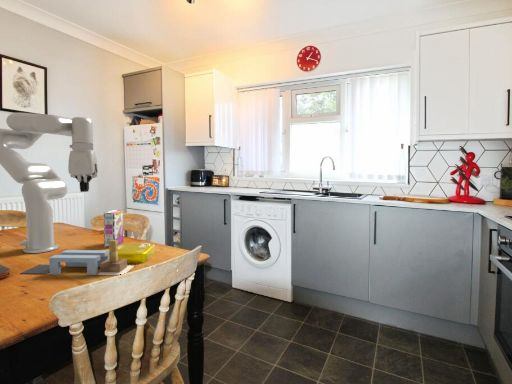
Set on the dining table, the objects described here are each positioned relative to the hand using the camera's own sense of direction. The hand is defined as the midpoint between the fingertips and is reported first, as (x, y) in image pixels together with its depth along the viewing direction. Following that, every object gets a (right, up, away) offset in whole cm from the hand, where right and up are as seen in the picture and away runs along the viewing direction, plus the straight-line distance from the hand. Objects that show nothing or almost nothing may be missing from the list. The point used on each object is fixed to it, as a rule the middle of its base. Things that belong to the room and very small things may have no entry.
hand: (84, 191), depth 121 cm
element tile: (+21, -28, -1) cm, 35 cm away
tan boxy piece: (+21, -29, -17) cm, 39 cm away
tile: (+22, -29, -17) cm, 40 cm away
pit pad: (-5, -29, -17) cm, 33 cm away
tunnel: (+9, -29, -17) cm, 34 cm away
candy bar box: (+4, -26, +18) cm, 32 cm away
